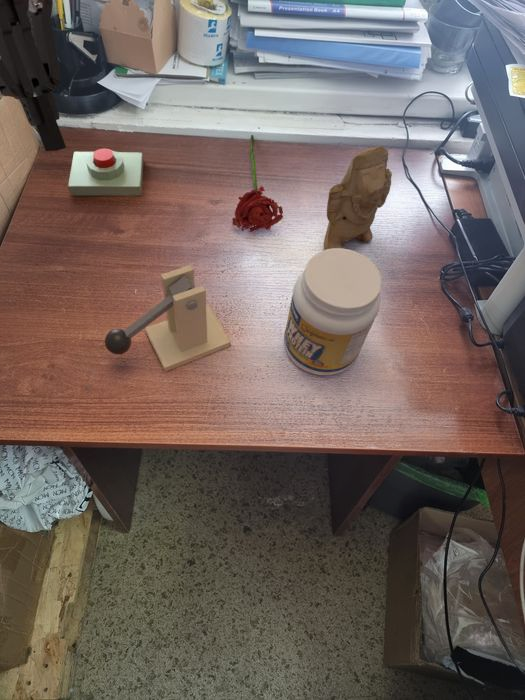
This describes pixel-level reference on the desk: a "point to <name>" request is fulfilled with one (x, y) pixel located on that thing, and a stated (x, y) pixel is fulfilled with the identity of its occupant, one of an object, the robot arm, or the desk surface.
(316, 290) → the supplement tub
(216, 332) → the switch bracket
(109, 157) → the stop button
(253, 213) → the flower
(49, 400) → the desk surface
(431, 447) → the desk surface
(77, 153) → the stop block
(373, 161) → the figurine
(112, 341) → the switch lever
